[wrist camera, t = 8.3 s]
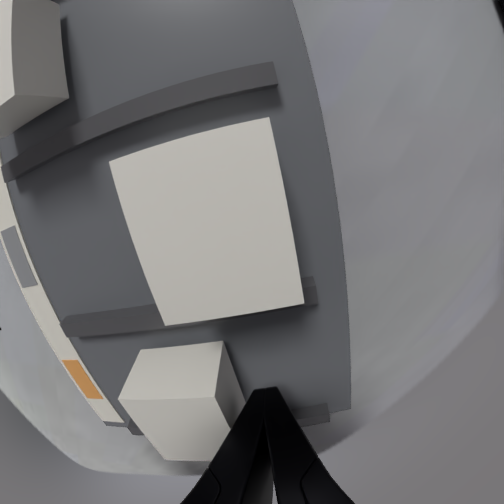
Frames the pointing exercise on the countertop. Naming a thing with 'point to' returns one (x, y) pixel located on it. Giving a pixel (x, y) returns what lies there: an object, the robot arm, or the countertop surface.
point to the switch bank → (151, 134)
